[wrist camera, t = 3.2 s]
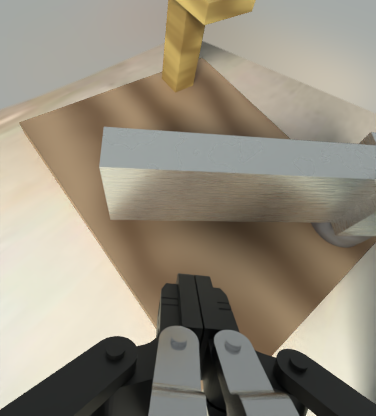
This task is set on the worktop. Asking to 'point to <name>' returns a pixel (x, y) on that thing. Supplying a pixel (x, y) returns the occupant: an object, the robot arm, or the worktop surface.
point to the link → (239, 179)
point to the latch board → (195, 230)
